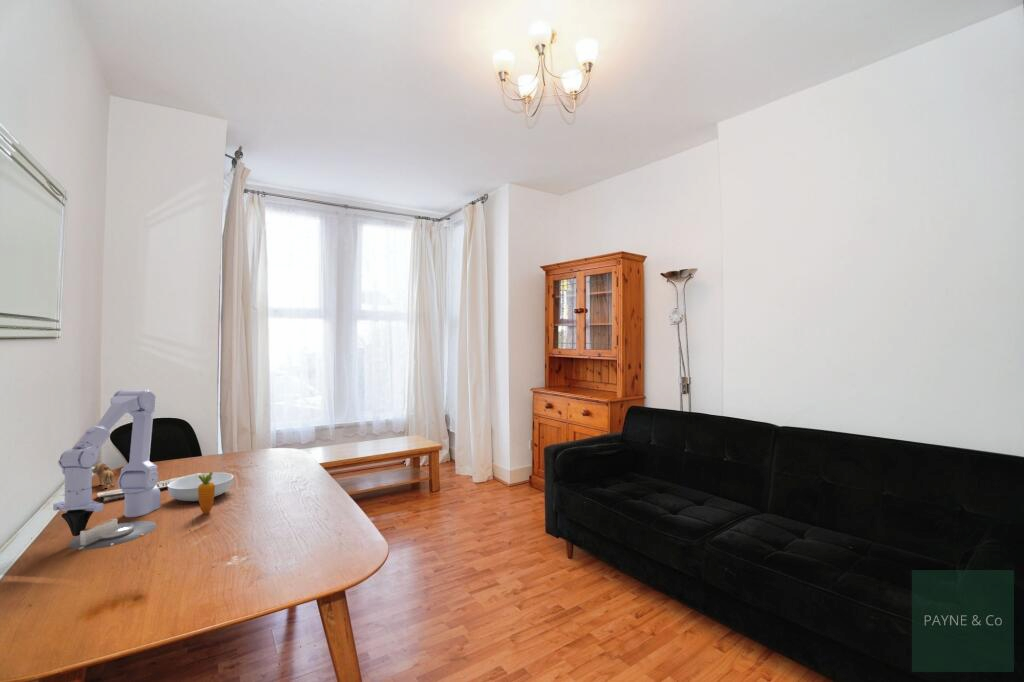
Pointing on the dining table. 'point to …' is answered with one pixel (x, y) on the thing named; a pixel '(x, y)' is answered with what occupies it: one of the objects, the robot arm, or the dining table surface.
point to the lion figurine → (104, 474)
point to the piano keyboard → (119, 494)
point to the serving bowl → (189, 486)
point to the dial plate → (139, 531)
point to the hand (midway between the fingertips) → (78, 534)
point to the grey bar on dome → (105, 531)
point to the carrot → (206, 493)
